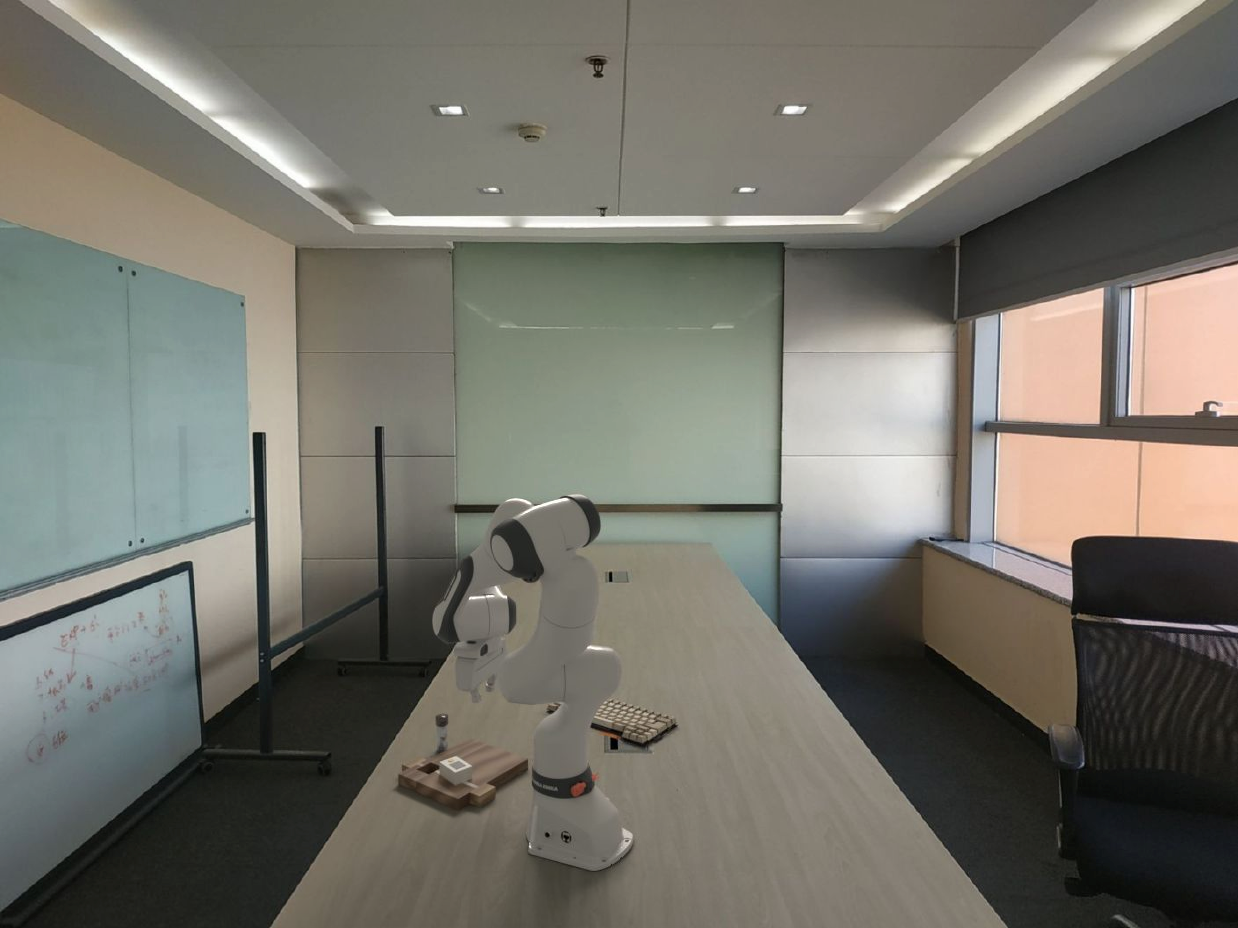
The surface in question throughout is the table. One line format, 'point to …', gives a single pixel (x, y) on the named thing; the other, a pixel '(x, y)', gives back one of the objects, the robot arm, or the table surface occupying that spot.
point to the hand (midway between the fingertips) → (483, 696)
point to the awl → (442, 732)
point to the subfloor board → (486, 776)
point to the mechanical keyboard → (629, 722)
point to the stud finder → (455, 770)
